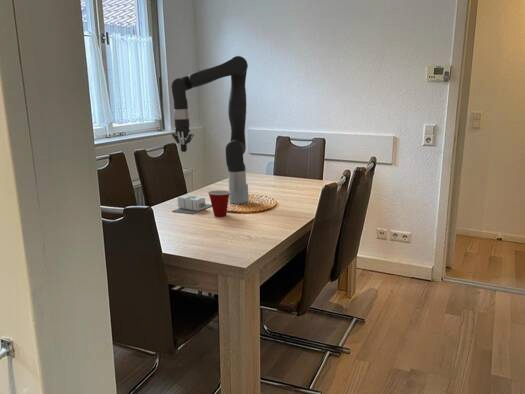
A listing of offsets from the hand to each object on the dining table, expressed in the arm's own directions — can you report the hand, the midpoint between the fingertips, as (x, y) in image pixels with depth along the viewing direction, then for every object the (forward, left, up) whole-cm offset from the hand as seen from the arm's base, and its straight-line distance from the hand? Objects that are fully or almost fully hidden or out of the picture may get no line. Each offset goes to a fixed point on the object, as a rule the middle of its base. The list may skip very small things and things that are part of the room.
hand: (184, 151), depth 251 cm
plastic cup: (-29, +12, -29) cm, 43 cm away
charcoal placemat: (-8, +6, -29) cm, 30 cm away
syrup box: (0, +6, -25) cm, 26 cm away
